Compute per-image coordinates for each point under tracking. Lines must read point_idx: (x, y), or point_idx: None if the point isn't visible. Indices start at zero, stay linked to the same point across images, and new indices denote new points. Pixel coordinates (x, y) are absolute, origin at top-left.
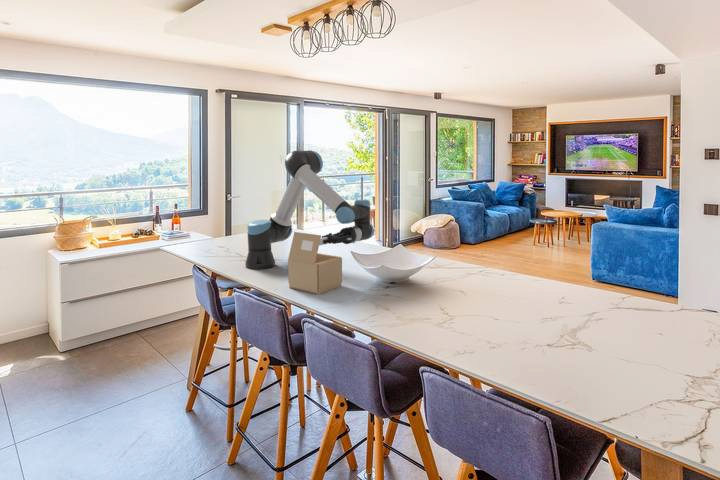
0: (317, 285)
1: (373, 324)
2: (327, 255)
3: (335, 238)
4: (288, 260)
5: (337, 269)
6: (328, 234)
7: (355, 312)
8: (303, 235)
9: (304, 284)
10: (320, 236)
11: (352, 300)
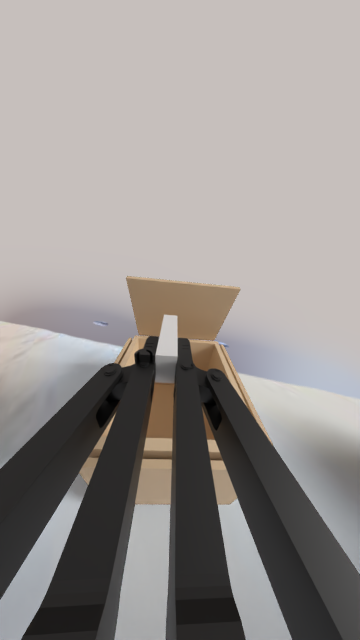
0: None
1: (27, 336)
2: (166, 438)
3: (94, 377)
4: (220, 347)
5: None
6: (345, 586)
7: (52, 352)
8: (196, 289)
9: None
10: (127, 279)
11: (55, 391)
